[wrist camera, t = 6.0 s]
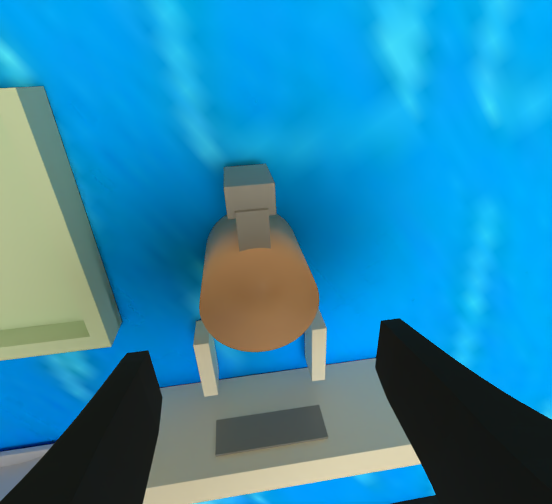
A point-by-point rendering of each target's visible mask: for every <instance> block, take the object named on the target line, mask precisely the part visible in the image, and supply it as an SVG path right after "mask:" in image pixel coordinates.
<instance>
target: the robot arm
mask: <svg viewBox="0 0 552 504" xmlns="http://www.w3.org/2000/svg"><path fill="white" fill-rule="evenodd" d="M375 369H376V372H377V374H378V377H379V380H380V382H381V385H382V388H383V390H384V393H385V395H386V398H387V400H388V402H389V404H390V406H391V407H392V409H393V411H394V413H395V415H396V417H397V419H398V421H399V423H400V425H401V427H402V428H403V430H404V432H405V434H406V436H407V438H408V440H409V442H410V444H411V445H412V447H413V449H414V451H415V453H416V455H417V457H418V459H419V461H420V462H421V464H422V466H423V468H424V470H425V472H426V474H427V476H428V478H429V480H430V482H431V484H432V487H433V489H434V491H435V494H436V496H437V498H438V501H439V503H440V504H552V420H551V419H550V418H548V417H546V416H544V415H542V414H541V413H539V412H537V411H535V410H534V409H532V408H530V407H528V406H527V405H525V404H523V403H521V402H520V401H518V400H516V399H515V398H513V397H511V396H510V395H508V394H506V393H505V392H503V391H501V390H500V389H498V388H497V387H495V386H494V385H492V384H491V383H489V382H488V381H486V380H484V379H483V378H481V377H480V376H478V375H477V374H475V373H474V372H472V371H471V370H469V369H468V368H467V367H465V366H464V365H462V364H461V363H459V362H458V361H457V360H455V359H454V358H452V357H451V356H450V355H448V354H447V353H445V352H444V351H443V350H441V349H440V348H439V347H437V346H436V345H435V344H433V343H432V342H430V341H429V340H428V339H426V338H425V337H424V336H422V335H421V334H420V333H418V332H417V331H416V330H414V329H413V328H412V327H410V326H409V325H408V324H406V323H405V322H404V321H402V320H401V319H392V320H384V321H381V325H380V332H379V340H378V348H377V356H376V363H375ZM162 398H163V397H162V394H161V391H160V387H159V384H158V381H157V378H156V374H155V371H154V368H153V364H152V361H151V358H150V355H149V351H140V352H132V353H127V354H126V355H125V356H124V358H123V359H122V360H121V361H120V363H119V364H118V365H117V367H116V368H115V369H114V370H113V372H112V373H111V374H110V376H109V377H108V378H107V380H106V381H105V382H104V384H103V385H102V386H101V387H100V389H99V390H98V391H97V393H96V394H95V395H94V396H93V398H92V399H91V400H90V401H89V403H88V404H87V405H86V406H85V408H84V409H83V410H82V411H81V413H80V414H79V415H78V416H77V418H76V419H75V420H74V421H73V422H72V424H71V425H70V426H69V427H68V428H67V429H66V431H65V432H64V433H63V434H62V435H61V436H60V438H59V439H58V440H57V441H56V442H55V443H54V444H49V445H42V446H35V447H29V448H22V449H15V450H9V451H2V452H0V504H143V500H144V496H145V492H146V487H147V483H148V479H149V474H150V470H151V465H152V461H153V456H154V452H155V447H156V443H157V438H158V434H159V426H160V418H161V408H162Z"/></svg>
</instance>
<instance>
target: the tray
mask: <svg viewBox="0 0 552 504" xmlns="http://www.w3.org/2000/svg"><path fill="white" fill-rule="evenodd" d="M121 323H122V319H121V316H120V313H119V310H118V307H117V304H116V301H115V298H114V295H113V292H112V289H111V286H110V283H109V280H108V278H107V275H106V272H105V269H104V266H103V263H102V260H101V257H100V254H99V251H98V248H97V245H96V242H95V239H94V236H93V233H92V230H91V227H90V224H89V221H88V218H87V215H86V212H85V209H84V206H83V203H82V200H81V197H80V194H79V191H78V188H77V185H76V182H75V179H74V176H73V173H72V170H71V167H70V164H69V161H68V158H67V155H66V152H65V149H64V146H63V143H62V140H61V137H60V134H59V131H58V128H57V125H56V122H55V119H54V116H53V113H52V110H51V107H50V104H49V101H48V98H47V95H46V92H45V89H44V86H39V87H18V88H0V361H1V360H9V359H17V358H25V357H33V356H41V355H49V354H57V353H65V352H73V351H81V350H89V349H97V348H105V347H111V346H112V344H113V342H114V339H115V337H116V335H117V332H118V330H119V328H120V325H121Z"/></svg>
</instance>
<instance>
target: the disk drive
mask: <svg viewBox="0 0 552 504" xmlns="http://www.w3.org/2000/svg"><path fill="white" fill-rule="evenodd" d="M392 504H440V503H439V501H438V498H437V496H436V495H434V496H429V497H424V498H418V499H413V500H408V501H402V502H397V503H392Z"/></svg>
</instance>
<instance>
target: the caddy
mask: <svg viewBox="0 0 552 504" xmlns="http://www.w3.org/2000/svg"><path fill="white" fill-rule="evenodd" d="M224 194H225V202H226V210H227V215H226V216H224V217H223V218H221V219H220V220H219V221H218V222H217V223H216V224H215V226H214V227H213V228H212V230H211V232H210V234H209V236H208V239H207V244H206V252H205V260H204V269H203V277H202V286H201V294H200V305H199V309H200V316H201V319H202V322H203V324H204V326H205V328H206V329H207V331H208V332H209V333H210V334H211V335H212V336H213V337H214V338H215V339H216V340H217V341H219V342H220V343H222V344H224V345H226V346H228V347H230V348H233V349H236V350H241V351H247V352H262V351H269V350H273V349H277V348H280V347H282V346H285V345H287V344H289V343H291V342H292V341H294V340H296V339H297V338H298V337H300V336H301V335H302V334H303V333H304V332H305V331H306V330H307V329H308V328H309V326H310V325H311V324H312V322H313V320H314V318H315V316H316V313H317V310H318V306H319V293H318V288H317V286H316V283H315V281H314V278H313V276H312V274H311V271H310V269H309V267H308V265H307V262H306V260H305V258H304V255H303V253H302V251H301V249H300V246H299V244H298V242H297V239H296V237H295V235H294V232H293V230H292V229H291V227H290V225H289V224H288V223H287V222H286V221H285V220H284V219H283V218H282V217H281V216H279V215H278V214H276V198H275V183H274V180H273V178H272V176H271V174H270V172H269V170H268V167H267V165H266V164H257V165H244V166H231V167H224Z"/></svg>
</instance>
